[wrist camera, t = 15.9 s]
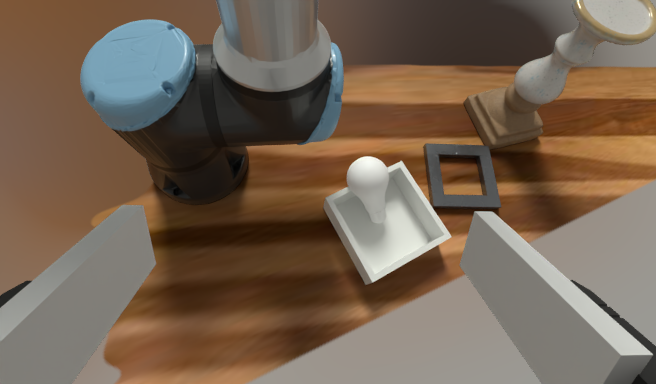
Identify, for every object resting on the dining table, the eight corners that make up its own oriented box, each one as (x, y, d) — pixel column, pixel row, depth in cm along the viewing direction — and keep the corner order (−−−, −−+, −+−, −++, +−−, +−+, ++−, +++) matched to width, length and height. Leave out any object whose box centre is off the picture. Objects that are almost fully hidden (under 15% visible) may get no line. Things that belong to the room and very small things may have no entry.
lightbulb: (407, 220, 47) (392, 154, 42) (373, 239, 45) (354, 172, 41) (385, 207, 52) (369, 146, 48) (354, 223, 51) (335, 162, 46)
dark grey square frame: (430, 208, 52) (433, 205, 51) (423, 146, 56) (425, 143, 55) (496, 209, 53) (501, 207, 52) (484, 148, 57) (488, 145, 56)
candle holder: (487, 150, 57) (606, 49, 34) (462, 101, 60) (556, -20, 38) (537, 138, 59) (683, 34, 36) (510, 91, 62) (628, -31, 40)
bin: (323, 207, 51) (325, 197, 46) (392, 173, 54) (401, 160, 49) (365, 284, 47) (372, 282, 42) (437, 243, 50) (451, 236, 45)
